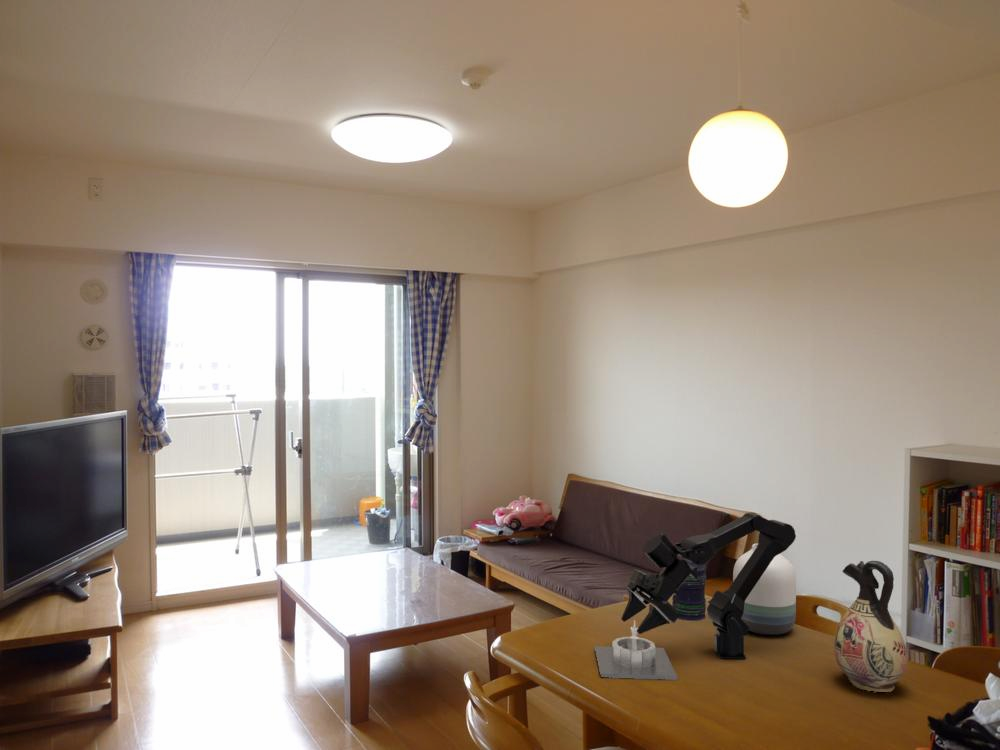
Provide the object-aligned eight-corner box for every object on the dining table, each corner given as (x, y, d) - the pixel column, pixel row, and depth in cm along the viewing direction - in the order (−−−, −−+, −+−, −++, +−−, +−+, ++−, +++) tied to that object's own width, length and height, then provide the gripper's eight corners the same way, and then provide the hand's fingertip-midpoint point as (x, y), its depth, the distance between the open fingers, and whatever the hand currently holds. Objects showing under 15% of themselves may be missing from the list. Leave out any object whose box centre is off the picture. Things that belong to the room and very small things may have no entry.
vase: (720, 625, 208) (720, 543, 208) (759, 616, 217) (759, 537, 217) (768, 644, 193) (768, 555, 194) (808, 633, 202) (808, 548, 202)
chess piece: (624, 663, 177) (625, 622, 177) (623, 655, 182) (624, 616, 182) (644, 664, 176) (645, 623, 176) (643, 656, 181) (643, 617, 181)
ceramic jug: (818, 678, 171) (818, 553, 171) (864, 668, 177) (864, 547, 178) (881, 708, 155) (881, 570, 156) (929, 696, 162) (929, 563, 162)
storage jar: (673, 619, 213) (673, 569, 213) (671, 609, 223) (671, 561, 223) (707, 621, 211) (707, 571, 211) (703, 611, 221) (704, 563, 221)
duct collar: (663, 651, 188) (663, 632, 188) (677, 680, 170) (677, 658, 170) (594, 649, 188) (594, 630, 189) (600, 678, 170) (601, 657, 171)
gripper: (634, 549, 189) (595, 594, 187) (667, 567, 171) (624, 617, 168) (661, 577, 191) (622, 622, 188) (696, 598, 173) (655, 647, 170)
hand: (630, 626), depth 179 cm, fingers open, 9 cm apart
